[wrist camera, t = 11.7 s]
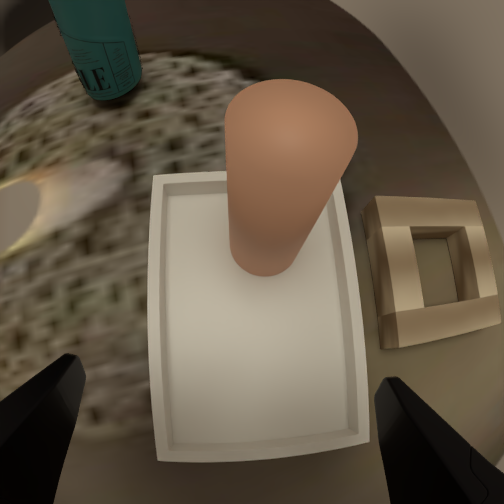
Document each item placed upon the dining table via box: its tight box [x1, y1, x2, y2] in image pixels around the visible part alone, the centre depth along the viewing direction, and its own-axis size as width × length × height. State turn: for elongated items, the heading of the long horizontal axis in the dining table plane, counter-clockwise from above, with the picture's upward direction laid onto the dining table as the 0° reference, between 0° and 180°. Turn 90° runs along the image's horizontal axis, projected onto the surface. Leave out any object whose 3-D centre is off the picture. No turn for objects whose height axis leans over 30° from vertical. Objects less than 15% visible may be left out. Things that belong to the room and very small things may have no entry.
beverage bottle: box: [49, 0, 143, 100], centre depth 19 cm, size 6×7×20 cm
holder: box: [361, 196, 501, 349], centre depth 23 cm, size 11×11×3 cm
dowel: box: [225, 79, 358, 277], centre depth 17 cm, size 5×5×13 cm
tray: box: [148, 171, 369, 462], centre depth 21 cm, size 20×14×2 cm
